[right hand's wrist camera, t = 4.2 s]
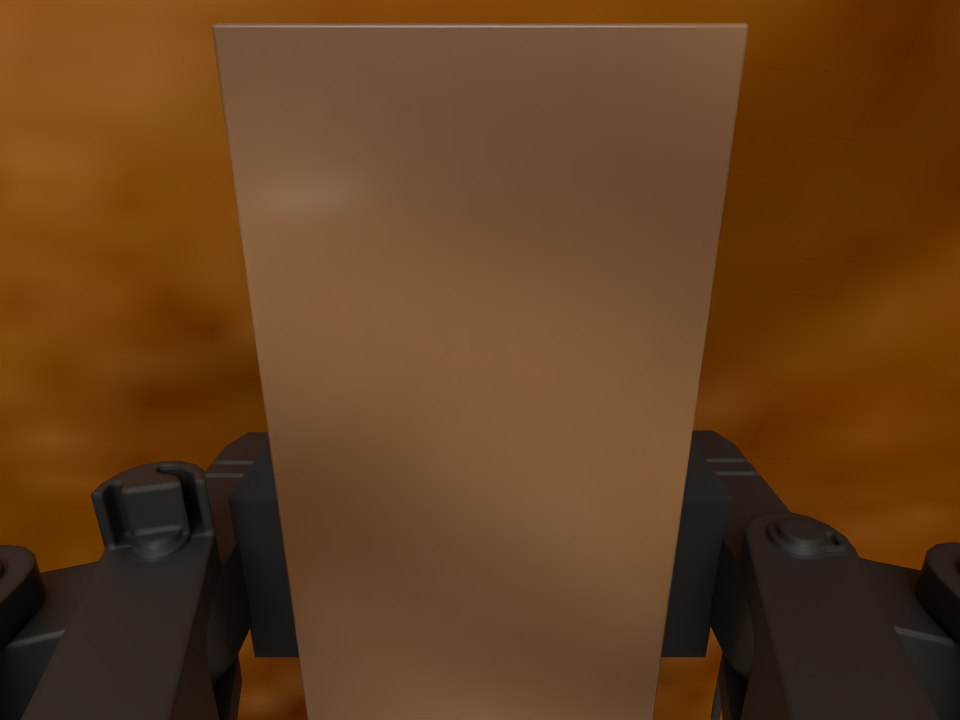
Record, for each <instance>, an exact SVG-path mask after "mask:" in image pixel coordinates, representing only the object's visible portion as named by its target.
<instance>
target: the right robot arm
mask: <svg viewBox="0 0 960 720" xmlns="http://www.w3.org/2000/svg"><path fill="white" fill-rule="evenodd" d="M91 497H92V501H93V505H94V509H95V512H96V516H97V520H98V524H99V528H100V531H101V535H102V539H103V543H104V546H105V551H104V553H103V555H102V557H101V559H100V561H96V562H93V563H89V564H84V565H79V566H74V567H69V568H64V569H59V570H54V571H49V572H44V573H40V571H39V568H38V564H37V561H36V558H35V555H34V554H33V553H32V552H31V551H29V550H28V549H27V548H26V547H20V546H12V545H4V546H0V720H237V716H238V708H239V700H240V692H241V684H242V676H241V669H240V663H239V658H238V653H239V651H240V649H241V646H242V644H243V642H244V640H245V638H246V636H247V634H248V631H249V629H250V630H251V636H252V642H253V647H254V653H255V657H299V652H298V645H297V638H296V631H295V623H294V616H293V609H292V602H291V594H290V587H289V580H288V573H287V566H286V558H285V551H284V544H283V537H282V530H281V522H280V515H279V508H278V501H277V493H276V486H275V479H274V472H273V465H272V457H271V450H270V443H269V436H268V433H247V434H245V435H244V436H242V437H240V438H239V439H237V440H235V441H234V442H232V443H230V444H229V445H227V446H226V447H225V448H224V450H223V451H222V452H221V453H220V454H219V456H218V457H217V458H216V459H215V461H214V465H210V467H209V468H208V469H207V470H206V472H205V473H204V471H203V470H202V469H201V468H199V467H198V466H197V465H195V464H191V463H187V462H182V461H169V462H157V463H152V464H147V465H142V466H138V467H135V468H133V469H130V470H127V471H124V472H122V473H119V474H117V475H116V476H114V477H112V478H110V479H109V480H107V481H105V482H103V483H102V484H101V485H100V486H99V487H98V488H97V489H96V490H95V491H94V492H93V493H92V494H91ZM710 626H711V628H712V630H713V632H714V634H715V636H716V638H717V640H718V642H719V645H720V647H721V649H722V651H723V652H722V658H721V663H720V668H719V674H718V679H717V685H716V690H715V695H714V701H713V706H712V713H711V720H719V718H720V713H721V708H722V715H723V720H960V543H955V542H951V543H943V544H936V545H935V546H934V547H932V548H931V549H930V550H928V551H927V553H926V556H925V560H924V563H923V566H922V569H921V570H916V569H911V568H905V567H900V566H895V565H890V564H885V563H880V562H875V561H871V560H867V559H863V558H859V556H858V554H857V552H856V550H855V548H854V547H853V546H852V545H851V543H850V542H849V541H848V540H847V538H846V537H845V536H844V535H842V534H841V533H839V532H838V531H836V530H835V529H833V528H832V527H831V526H829V525H827V524H825V523H822V522H820V521H818V520H815V519H813V518H811V517H808V516H803V515H799V514H795V513H791V512H790V511H789V510H788V508H787V507H786V506H785V505H784V504H783V502H782V501H781V500H780V499H779V498H778V496H777V495H776V494H775V493H774V492H773V490H772V489H771V488H770V487H769V485H768V484H767V483H766V482H765V481H764V479H763V478H762V477H761V476H758V472H757V471H756V470H755V468H754V467H753V466H752V465H751V464H750V462H747V459H746V458H745V456H744V455H743V454H742V453H741V451H740V450H739V449H738V448H737V447H736V445H735V444H734V443H732V442H730V441H729V440H727V439H725V438H724V437H722V436H720V435H719V434H717V433H715V432H714V431H692V439H691V446H690V453H689V460H688V467H687V475H686V482H685V489H684V496H683V503H682V510H681V518H680V525H679V532H678V539H677V546H676V554H675V561H674V568H673V575H672V582H671V590H670V597H669V604H668V611H667V618H666V625H665V633H664V640H663V647H662V654H661V657H705V655H706V650H707V644H708V638H709V632H710Z"/></svg>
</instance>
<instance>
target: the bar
mask: <svg viewBox="0 0 960 720" xmlns="http://www.w3.org/2000/svg"><path fill="white" fill-rule="evenodd" d="M212 32H213V39H214V46H215V53H216V60H217V68H218V75H219V82H220V89H221V97H222V104H223V111H224V118H225V125H226V133H227V140H228V147H229V154H230V161H231V169H232V176H233V183H234V190H235V198H236V205H237V212H238V219H239V226H240V234H241V241H242V248H243V255H244V263H245V270H246V277H247V284H248V291H249V299H250V306H251V313H252V320H253V327H254V335H255V342H256V349H257V356H258V364H259V371H260V378H261V385H262V392H263V400H264V407H265V414H266V421H267V428H268V436H269V443H270V450H271V457H272V465H273V472H274V479H275V486H276V493H277V501H278V508H279V515H280V522H281V530H282V537H283V544H284V551H285V558H286V566H287V573H288V580H289V587H290V594H291V602H292V609H293V616H294V623H295V631H296V638H297V645H298V652H299V659H300V667H301V674H302V681H303V688H304V696H305V703H306V710H307V717H308V720H652V719H653V712H654V705H655V697H656V690H657V683H658V676H659V669H660V661H661V654H662V647H663V640H664V633H665V625H666V618H667V611H668V604H669V597H670V590H671V582H672V575H673V568H674V561H675V554H676V546H677V539H678V532H679V525H680V518H681V510H682V503H683V496H684V489H685V482H686V475H687V467H688V460H689V453H690V446H691V439H692V431H693V424H694V417H695V410H696V403H697V395H698V388H699V381H700V374H701V367H702V359H703V352H704V345H705V338H706V331H707V324H708V316H709V309H710V302H711V295H712V288H713V280H714V273H715V266H716V259H717V252H718V244H719V237H720V230H721V223H722V216H723V209H724V201H725V194H726V187H727V180H728V173H729V165H730V158H731V151H732V144H733V137H734V129H735V122H736V115H737V108H738V101H739V94H740V86H741V79H742V72H743V65H744V58H745V50H746V43H747V36H748V25H747V24H745V23H215V24H213V26H212Z"/></svg>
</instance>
